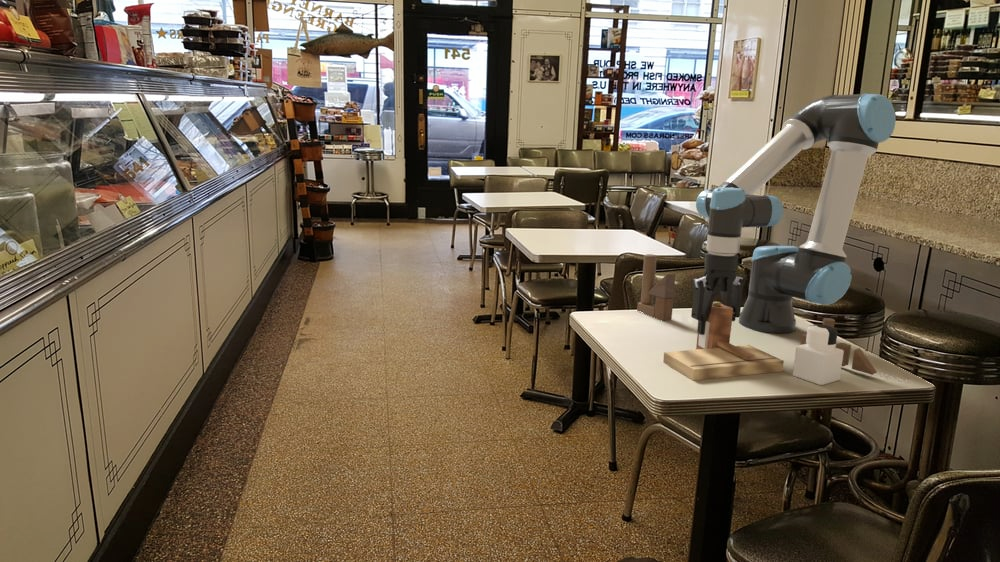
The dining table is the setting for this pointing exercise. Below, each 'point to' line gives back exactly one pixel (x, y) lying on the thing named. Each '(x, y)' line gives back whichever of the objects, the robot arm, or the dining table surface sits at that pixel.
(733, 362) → the board
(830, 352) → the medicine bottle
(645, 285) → the wooden post assembly
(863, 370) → the wood blocks
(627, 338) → the dining table surface
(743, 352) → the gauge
